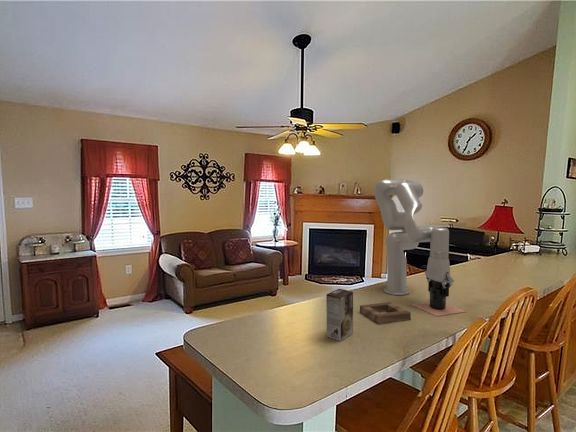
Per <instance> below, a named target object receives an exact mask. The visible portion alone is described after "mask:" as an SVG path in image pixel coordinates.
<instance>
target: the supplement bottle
mask: <svg viewBox="0 0 576 432" xmlns="http://www.w3.org/2000/svg"><path fill="white" fill-rule="evenodd" d="M432 285H433V286H432V287H431V288H430V292H429V302H430V307H431V308H433V309H439V310H442V309H445V308H446V303H447V297H442V288H443V285H442V282H437V281H434V280H433V283H432Z"/></svg>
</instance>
